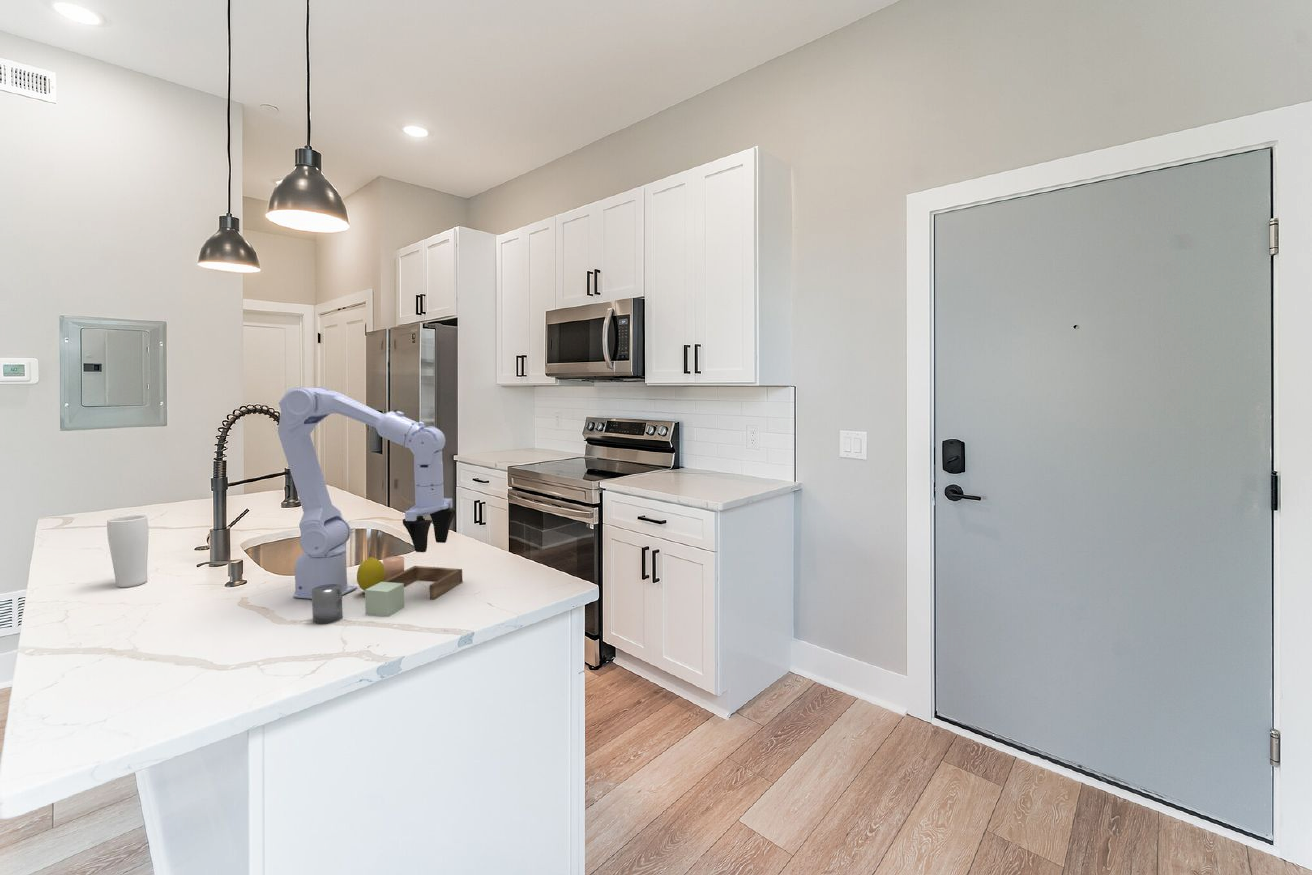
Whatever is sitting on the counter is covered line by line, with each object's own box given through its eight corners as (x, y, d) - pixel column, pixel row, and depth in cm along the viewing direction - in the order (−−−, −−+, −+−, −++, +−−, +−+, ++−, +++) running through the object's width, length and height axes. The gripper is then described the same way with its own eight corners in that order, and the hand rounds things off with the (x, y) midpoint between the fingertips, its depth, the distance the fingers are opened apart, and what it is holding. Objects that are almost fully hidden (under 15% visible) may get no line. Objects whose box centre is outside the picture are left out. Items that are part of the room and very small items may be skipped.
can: (306, 622, 112) (305, 591, 111) (326, 613, 116) (324, 583, 116) (329, 625, 111) (328, 593, 110) (348, 615, 115) (347, 585, 115)
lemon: (374, 599, 124) (373, 561, 123) (351, 597, 125) (350, 559, 124) (391, 590, 129) (390, 554, 129) (369, 588, 131) (367, 552, 130)
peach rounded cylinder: (379, 582, 135) (378, 561, 134) (391, 576, 139) (391, 555, 138) (396, 583, 134) (396, 562, 133) (408, 577, 138) (408, 556, 138)
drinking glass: (104, 586, 131) (99, 519, 129) (140, 577, 137) (136, 513, 136) (122, 591, 128) (117, 522, 127) (158, 581, 134) (154, 516, 133)
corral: (382, 595, 126) (382, 581, 126) (415, 578, 137) (414, 565, 137) (434, 599, 124) (433, 585, 124) (462, 581, 135) (462, 569, 135)
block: (365, 614, 116) (364, 589, 115) (382, 605, 121) (381, 581, 120) (388, 616, 115) (387, 591, 114) (404, 607, 120) (403, 583, 119)
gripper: (426, 490, 118) (428, 557, 119) (464, 479, 132) (465, 539, 134) (394, 489, 120) (397, 555, 121) (435, 478, 134) (437, 537, 135)
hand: (431, 546), depth 127 cm, fingers open, 7 cm apart
